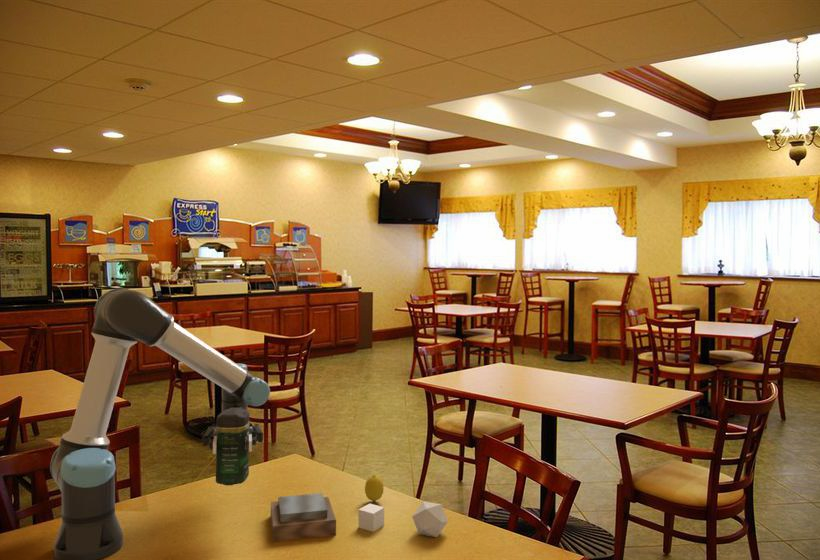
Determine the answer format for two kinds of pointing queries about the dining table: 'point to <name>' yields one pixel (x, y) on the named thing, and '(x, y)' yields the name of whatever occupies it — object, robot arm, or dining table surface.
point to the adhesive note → (371, 517)
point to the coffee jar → (232, 446)
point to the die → (430, 519)
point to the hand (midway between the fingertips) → (232, 447)
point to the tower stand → (302, 517)
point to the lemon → (374, 488)
